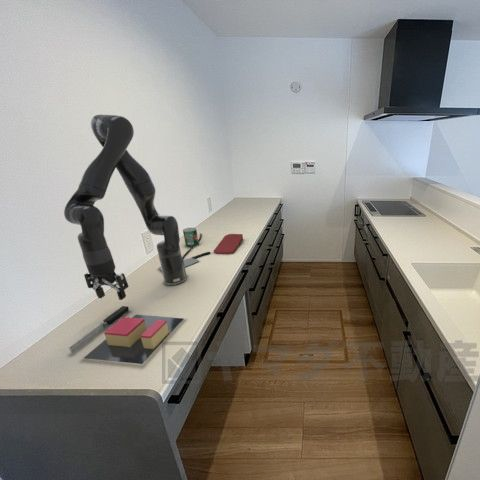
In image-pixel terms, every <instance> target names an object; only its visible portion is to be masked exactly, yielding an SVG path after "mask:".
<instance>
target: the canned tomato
mask: <svg viewBox="0 0 480 480" xmlns="http://www.w3.org/2000/svg"><path fill="white" fill-rule="evenodd" d="M182 234H183V238H184V245H185V248H189V249H190V248H191V247H192V246H194V247H193V248H196V247H198V246H199V245H200V244H199V243H200V242H198V240H199V236H198V231H197V227H186V228H183V229H182Z"/></svg>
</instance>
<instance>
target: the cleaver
mask: <svg viewBox="0 0 480 480" xmlns="http://www.w3.org/2000/svg"><path fill="white" fill-rule="evenodd" d="M207 255H211V252H210V251H205V252H203V253H199V254H198V255H195V256H191V257H190V258H189V257H188V258H185V259H183V261H184V266H185V268H186V267H189V266H191V265H194V264H196V263H198V262H199V260H198V259H197V258H200V257H204V256H207ZM158 270H159V271H160V272H162V268H161V266H160V267H159V268H158Z"/></svg>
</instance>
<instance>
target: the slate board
mask: <svg viewBox="0 0 480 480" xmlns="http://www.w3.org/2000/svg"><path fill="white" fill-rule="evenodd" d="M132 318H139V319H144V320H145V324H146V327H147V329H148V328H149V327H150V326H151V325H152V324H153V323H154V322H155V321H156V320H164V321H167V326H168V330H169V333H168V334H167V335H166V336H165V338H164V339H163V340H162V341H161V342H160V343H159V344H158V345H157V346H156V347H155V348H154V349H147V348H144V347H143V343H142V340H141V337H140V338H139V339H138V340H137V341H136V342H135V343H134V344H133V345H132V346H131V347H125V346H114V345H108V343H107V340H106V339H105V340H103V341H102V342H100V344H98V345H97V346H96V347H95V348H93V349H92V350H91V351H90V352H88V353H87V354H86V355H85V356H84V357H83V359H86V360H87V359H88V360H97V361H107V362H116V363H127V364H137V365H143V364H144V363H145V362H146V361H147V360H148V359H149V357H151V356H152V354H153V353H155V351H156V350H157V349H158V348H159V347H160V346H161V345H162V343H164V341H166V339H167V338H168V337H169V336H170V335H171V334H172V333H173V331H175V329H177V327H178V326H179V325H180V324H181V323H182V322H183V321H184V318H182V317H181V318H180V317H171V316H170V317H169V316H157V315H145V314H135V315H134V316H132Z"/></svg>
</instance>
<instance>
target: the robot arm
mask: <svg viewBox="0 0 480 480" xmlns="http://www.w3.org/2000/svg"><path fill="white" fill-rule="evenodd" d="M132 124H133V123H132V122H131V121H130V120H129V119H128V118H126V117H124V116H122V115H115V114H96V115H93V116H92V117H91V119H90V129H91V131H92V134H93V136H94V137H95V139H96V140H97V141H98V143H99V144H100V146H101V150H100V152H99V153H98V154H97V155H96V157H94V158H93V159H92V161H91V162H90V163H89V164H88V165H87V166H86V168H85V170H84V171H83V173H82V176H81V178H80V181H79V184H78V187H77V189H76V191H75V192H74V193H73V194H72V195H71V197H70V198H69V200H68V202H67V203H66V204H65V206H64V210H63V215H64V219H65V220H66V221H67V222H68V223H70V224H73V225H78V226H79V225H80V228H81V232H80V233H79V234H78V235H77V241H78V244H79V248H80V250H81V253H82V259H83V261H84V263H85V266H86V268H87V272H86V273H85V274H83V276H84V280H85V283H86V286H87V288H88V289H92V290H93V291H95V295H96V296H97V298H98V299H103V298H104V297H105V296H106V294H105V291H104V288H103V287H102V286H108V287H110V289H114V290H115V291H116V294H117V297H118V300H119V301H123V300H125V299H126V297H127V294H126V291H125V290H126V289H128V288H129V283H128V281H127V277H126V275H125V273H123V272H121V273H120V274H117V273H116V272H115V271H116V263H115V261H114V258H113V255H112V252H111V249H110V247H109V245H108V243H107V239H106V236H105V218H104V214H103V213H102V211H101V209H100V208H98V206H96V205H95V203H96V202H97V201H100V200H103V199H104V198H105V196H106V193H107V191H108V188H109V185H110V182H111V179H112V176H113V175H114V172H115V170H117V172H118V174H119V176H120V178H121V180H122V181H123V183H124V185H125V186H126V188H127V191H128V192H129V193H130V195H131V197H132V199H133V201H134V202H135V204H136V206H137V208H138V210H139V213H140V215H141V217H142V219H143V222H144V224H145V226H146V229H147V230H148V231H149V233H150V234H152V235H154V236H163V238H164V239H163V240H162V241H159V242H158V243H157V244H156V250H157V255H158V260H159V263H160V267H161V268H162V271H161V273H162V278H163V281H164V284H165V285H167V286H176V285H179V284H182V283H184V282H186V280H187V272H186V267H185V266H184V261H183V260H184V258H185V257H186V255H188V253H189V252H190V251H191V250H192V249H194V248H195V247H194V246H192V247H191V248H189V249H188V250H187V251H186V252H185V253H184V254H183V255H182V252H181V246H180V241H181V237H180V230H179V224H178V221H177V218H176V217H175V216H173V215H167V214H166V215H165V214H159V212H158V211H157V208H156V207H155V197H156V191H157V190H156V186H155V183H154V181H153V179H152V176H151V175H150V173H149V172H148V171H147V169H146V168H145V167H144V166H143V164H141V163H140V162H139V161H138V160H137V159H136V158H135V157H133V155H132V154H131V153H130V152H129V150H128V148H129V146H130V144H131V142H132V140H133V138H134V133H135V130H134V127H133V125H132ZM201 239H202V233H199V237H198V243H200V241H201Z"/></svg>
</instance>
